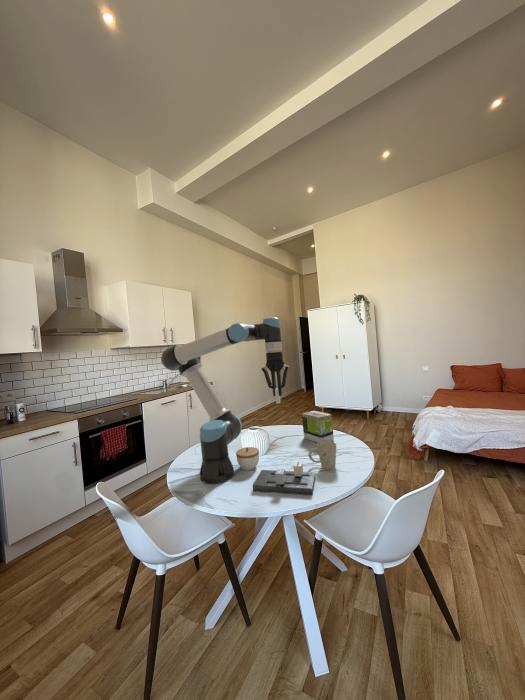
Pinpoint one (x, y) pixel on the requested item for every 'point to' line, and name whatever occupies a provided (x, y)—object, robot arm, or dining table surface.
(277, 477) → the fader right
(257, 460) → the lidded jar
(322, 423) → the tea box
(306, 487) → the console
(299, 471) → the fader left
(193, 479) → the dining table surface
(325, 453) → the mug
